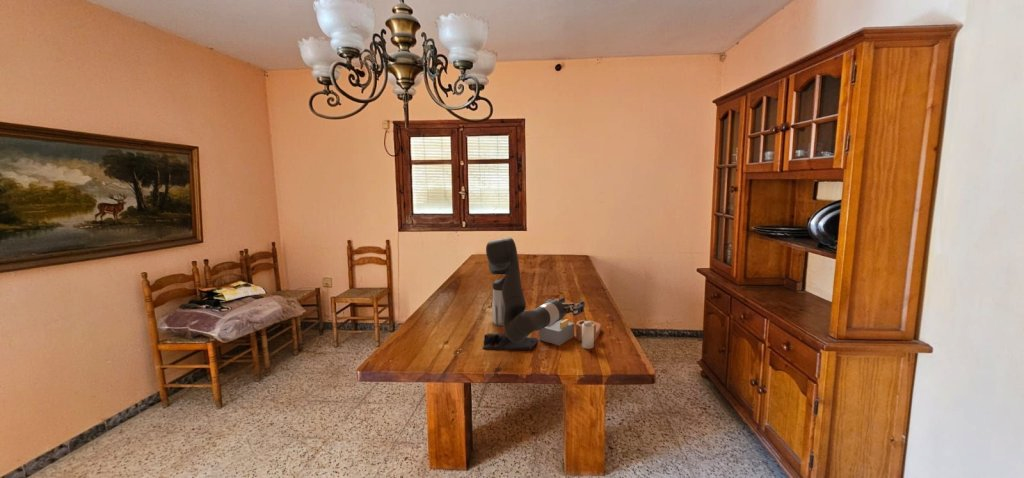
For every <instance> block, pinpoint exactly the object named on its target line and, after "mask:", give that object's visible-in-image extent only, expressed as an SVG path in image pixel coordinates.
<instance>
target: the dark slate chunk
mask: <svg viewBox="0 0 1024 478" xmlns="http://www.w3.org/2000/svg"><path fill="white" fill-rule="evenodd" d="M537 343H538V338H537V337H531V336H530V337H529V336H527V337H526V338H525V339H524V340H522V341H521V342H518V343H514V342H512V341H510V340H509V339H508V337H507V336H506V333H487V334H484V338H483V346H482V348H483V350H489V349H490V350H496V351H497V350H499V351H505V350H509V351H510V350H511V351H526V350H531V349H533V347H535V345H536V344H537ZM496 344H497V345H496Z"/></svg>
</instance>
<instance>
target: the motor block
mask: <svg viewBox="0 0 1024 478" xmlns="http://www.w3.org/2000/svg"><path fill="white" fill-rule="evenodd" d="M538 331H539V340H540V341H543V342H546V343H550V344H554V345H556V346H561V345H563V344H564V343H566V342H567V341H569V340H570V339H572V338H574V337H575V323H574V322H573V321H572V322H571V321H569V318H565V319H564V320H563V319H562V320H560V321H558V322H556V323H554V324H552V325H550V326H547V327H545V328H543V329H541V330H538Z"/></svg>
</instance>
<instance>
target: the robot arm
mask: <svg viewBox="0 0 1024 478" xmlns="http://www.w3.org/2000/svg"><path fill="white" fill-rule="evenodd" d="M485 254H486V257H487V260H488V269H489V273H491V274H492V275H504V276H503V277H501V278H499V279H496V280H494V281H493V283H492V305H491V307H492V323H494V325H495V326H502V327H504V332H505V333H504V334H506V336H507V337H508V339H509V340H510V341H512V342H514V343H518V342H521V341H522V340H524V339H525V338H526V337H529V336H530V335H531V334H533V332H536V331H539V330H541V329H543V328H545V327H547V326H550V325H552V324H554V323H556V322H558V321H560V320H563V319H564V318H565V316H566V315H567V314H572V316H575V317H576V316H579V315H580V314H582V313H584V312H585V311H584V310H585V309H584V308H585V307H586V303H585V300H581V301H579V302H578V303H574V302H566V297H563V296H562V297H560V298H555V299H554V298H550V299H547V300H545V301H543V304H541V305H539V306H538V307H535V308H533V309H529V310H526V307H527V305H526V304H527V303H526V299H525V295H524V291H523V287H522V281H521V270H520V262H519V256H518V251H517V246H516V243H515V241H514V239H513V238H512V237H505V238H504V237H503V238H498V239H493V240H490V241H488V242H487V243H486V246H485Z"/></svg>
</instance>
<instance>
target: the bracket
mask: <svg viewBox="0 0 1024 478" xmlns="http://www.w3.org/2000/svg"><path fill="white" fill-rule="evenodd" d="M584 321H586V319H581V320H578V321H576V323H575V328H576V329H575V330H576V331H575V333H576V334H575V335H576V337H575V338H576V340H577V341H579V342H581V343H582V324H584ZM587 321H591V322H592V324H593V325H594V342H596V340H597V338H598V337H599V335H600V333H601V332H602V329H601V327H602V326H601V323H599V322H597V321H594V320H591V319H589V320H587Z"/></svg>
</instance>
